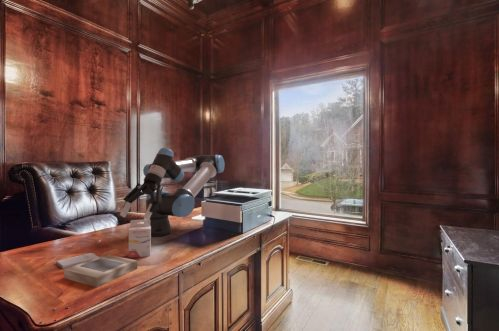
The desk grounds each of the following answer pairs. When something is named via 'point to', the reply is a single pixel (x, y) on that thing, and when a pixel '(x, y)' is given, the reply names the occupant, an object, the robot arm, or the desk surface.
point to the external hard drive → (75, 260)
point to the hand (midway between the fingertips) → (133, 217)
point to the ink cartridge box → (139, 239)
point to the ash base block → (100, 270)
